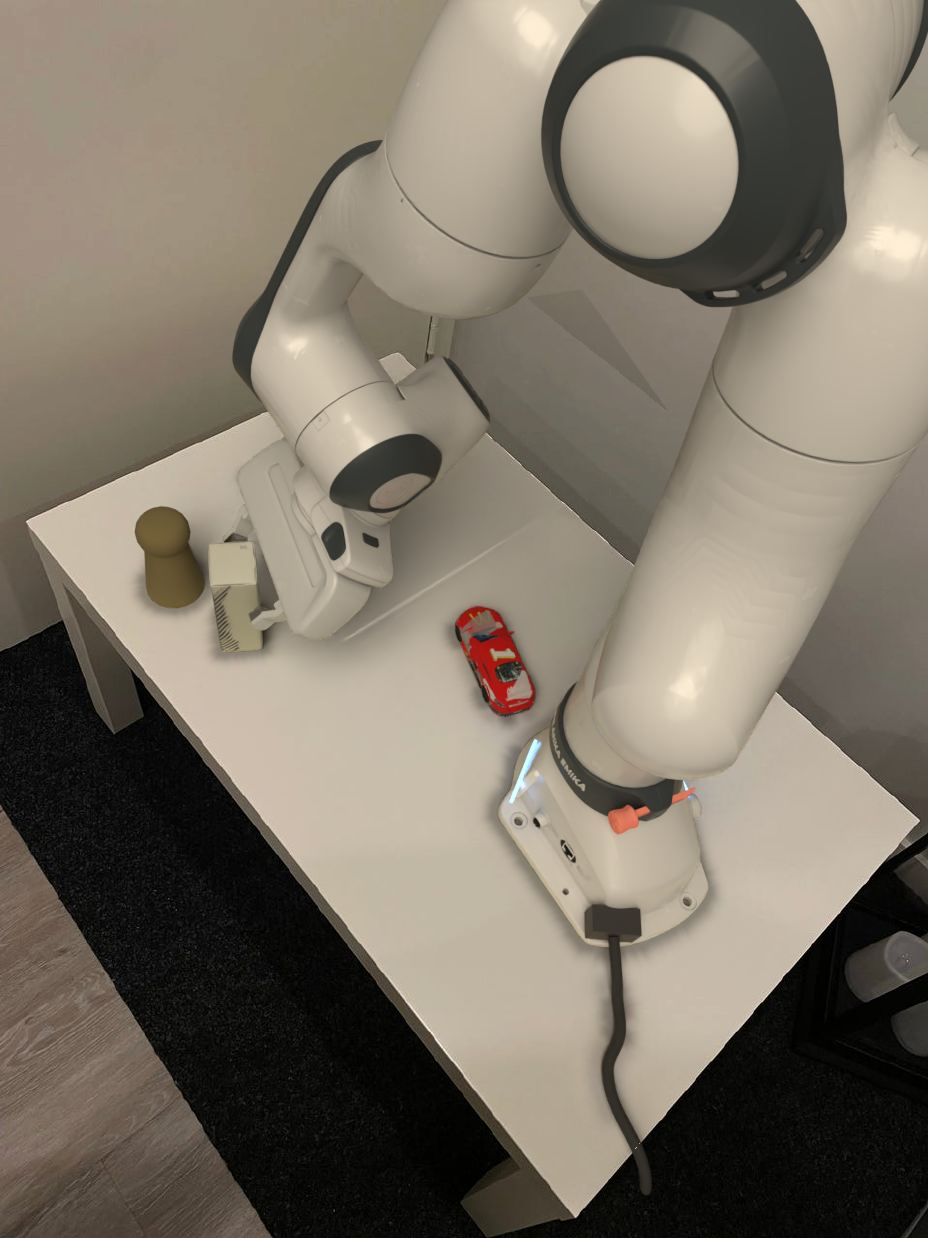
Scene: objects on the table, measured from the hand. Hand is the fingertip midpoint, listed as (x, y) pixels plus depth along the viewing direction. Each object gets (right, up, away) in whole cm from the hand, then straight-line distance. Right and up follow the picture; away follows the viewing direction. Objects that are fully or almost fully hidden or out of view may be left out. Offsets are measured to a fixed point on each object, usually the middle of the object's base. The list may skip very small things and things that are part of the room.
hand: (241, 584), depth 85 cm
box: (-2, -5, +7) cm, 9 cm away
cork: (-9, 0, +9) cm, 13 cm away
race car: (+25, -8, +9) cm, 28 cm away
